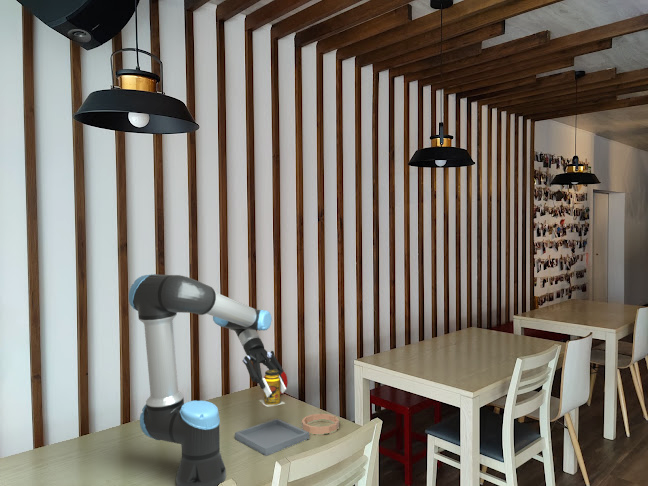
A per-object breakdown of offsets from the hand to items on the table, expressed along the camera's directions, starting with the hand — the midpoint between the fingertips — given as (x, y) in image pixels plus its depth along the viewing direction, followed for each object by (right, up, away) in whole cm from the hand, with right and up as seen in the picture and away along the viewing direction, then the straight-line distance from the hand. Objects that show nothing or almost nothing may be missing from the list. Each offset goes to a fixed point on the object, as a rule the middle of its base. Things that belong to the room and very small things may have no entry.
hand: (276, 393), depth 178 cm
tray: (-2, -18, +3) cm, 19 cm away
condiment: (-2, -5, +3) cm, 6 cm away
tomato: (-6, -18, +55) cm, 58 cm away
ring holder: (+16, -18, +13) cm, 27 cm away
